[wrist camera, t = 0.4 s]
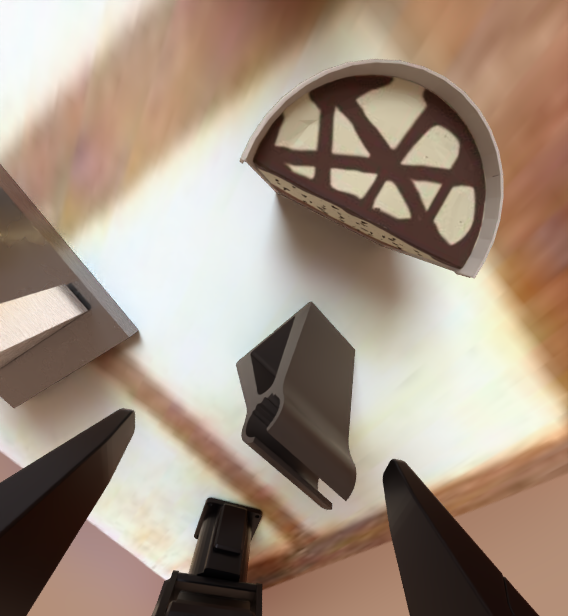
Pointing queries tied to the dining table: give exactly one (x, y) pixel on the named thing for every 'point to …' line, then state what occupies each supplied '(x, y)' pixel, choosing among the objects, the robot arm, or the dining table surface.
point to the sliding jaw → (35, 319)
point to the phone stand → (302, 403)
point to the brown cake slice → (388, 159)
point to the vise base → (41, 276)
